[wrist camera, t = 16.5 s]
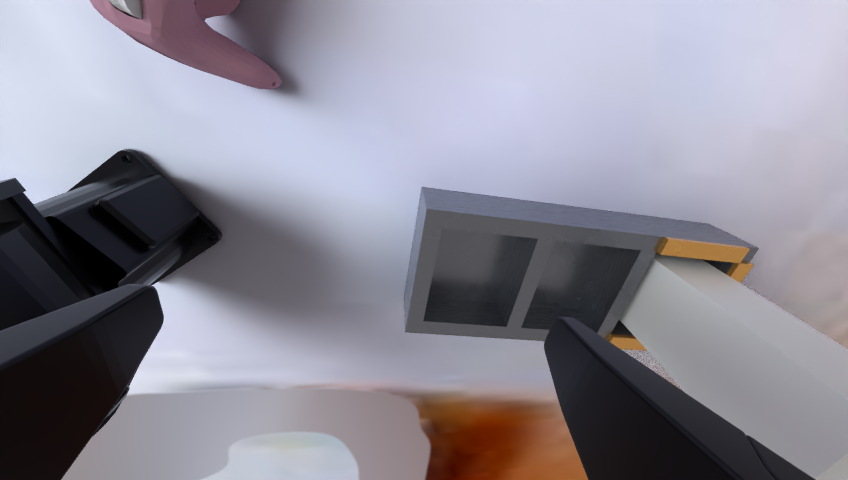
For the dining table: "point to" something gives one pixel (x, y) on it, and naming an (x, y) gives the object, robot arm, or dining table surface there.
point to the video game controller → (189, 36)
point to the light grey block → (746, 361)
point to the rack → (542, 265)
